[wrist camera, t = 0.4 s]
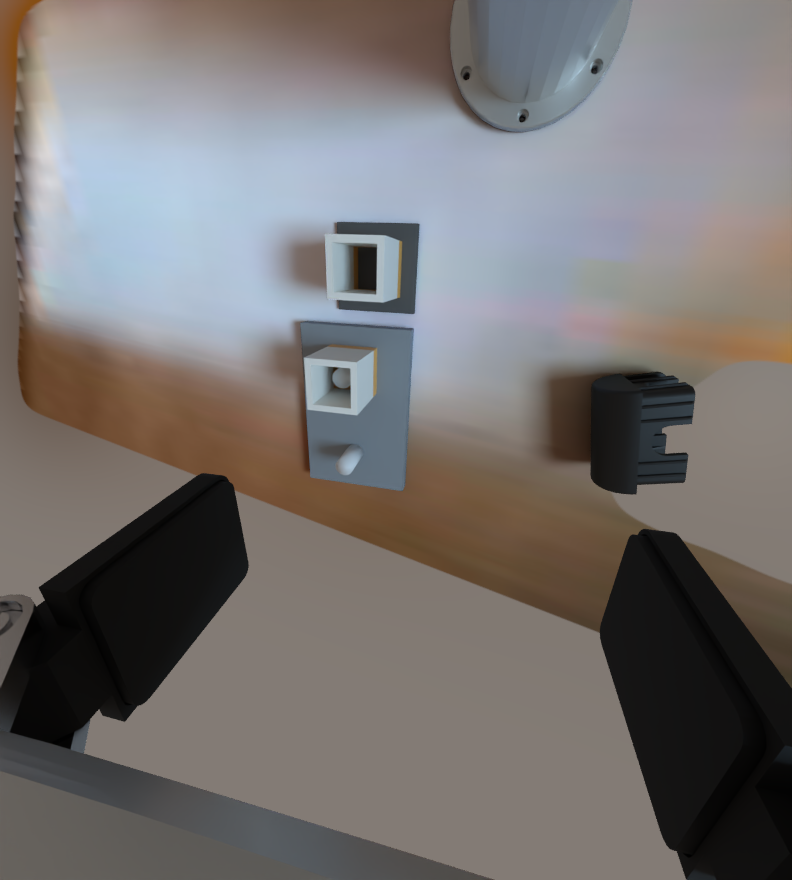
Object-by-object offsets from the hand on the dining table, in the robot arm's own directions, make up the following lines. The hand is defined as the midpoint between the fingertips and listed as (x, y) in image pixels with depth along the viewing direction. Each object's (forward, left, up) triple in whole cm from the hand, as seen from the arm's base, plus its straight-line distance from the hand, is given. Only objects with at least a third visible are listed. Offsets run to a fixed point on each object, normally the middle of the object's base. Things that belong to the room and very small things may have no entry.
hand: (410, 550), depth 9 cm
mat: (-6, -10, -33) cm, 35 cm away
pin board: (+9, -12, -33) cm, 36 cm away
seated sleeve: (+4, -12, -32) cm, 34 cm away
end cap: (+7, +16, -33) cm, 38 cm away
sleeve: (-6, -10, -33) cm, 35 cm away
